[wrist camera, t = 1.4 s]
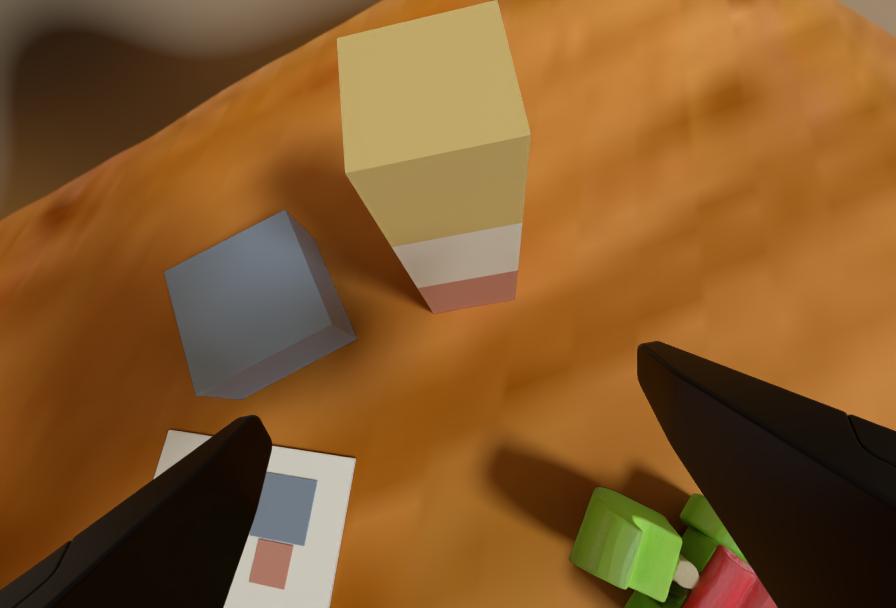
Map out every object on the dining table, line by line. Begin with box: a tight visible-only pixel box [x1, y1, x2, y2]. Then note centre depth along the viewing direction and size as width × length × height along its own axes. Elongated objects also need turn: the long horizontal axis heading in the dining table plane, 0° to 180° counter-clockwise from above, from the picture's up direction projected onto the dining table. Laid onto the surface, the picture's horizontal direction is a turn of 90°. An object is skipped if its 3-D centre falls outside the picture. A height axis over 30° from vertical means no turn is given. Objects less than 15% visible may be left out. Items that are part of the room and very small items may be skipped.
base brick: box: [164, 210, 357, 400], centre depth 23 cm, size 8×8×4 cm
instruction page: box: [154, 430, 356, 608], centre depth 21 cm, size 12×9×1 cm
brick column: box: [337, 0, 531, 314], centre depth 18 cm, size 5×5×14 cm
